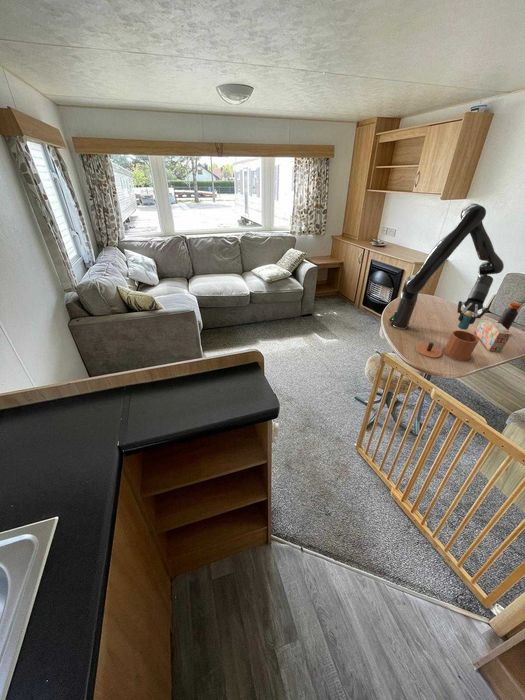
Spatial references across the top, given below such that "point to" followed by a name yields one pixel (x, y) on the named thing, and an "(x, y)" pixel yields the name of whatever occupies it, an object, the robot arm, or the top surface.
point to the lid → (428, 350)
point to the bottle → (509, 315)
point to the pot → (461, 345)
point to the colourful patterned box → (492, 335)
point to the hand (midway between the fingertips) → (465, 321)
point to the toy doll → (466, 320)
